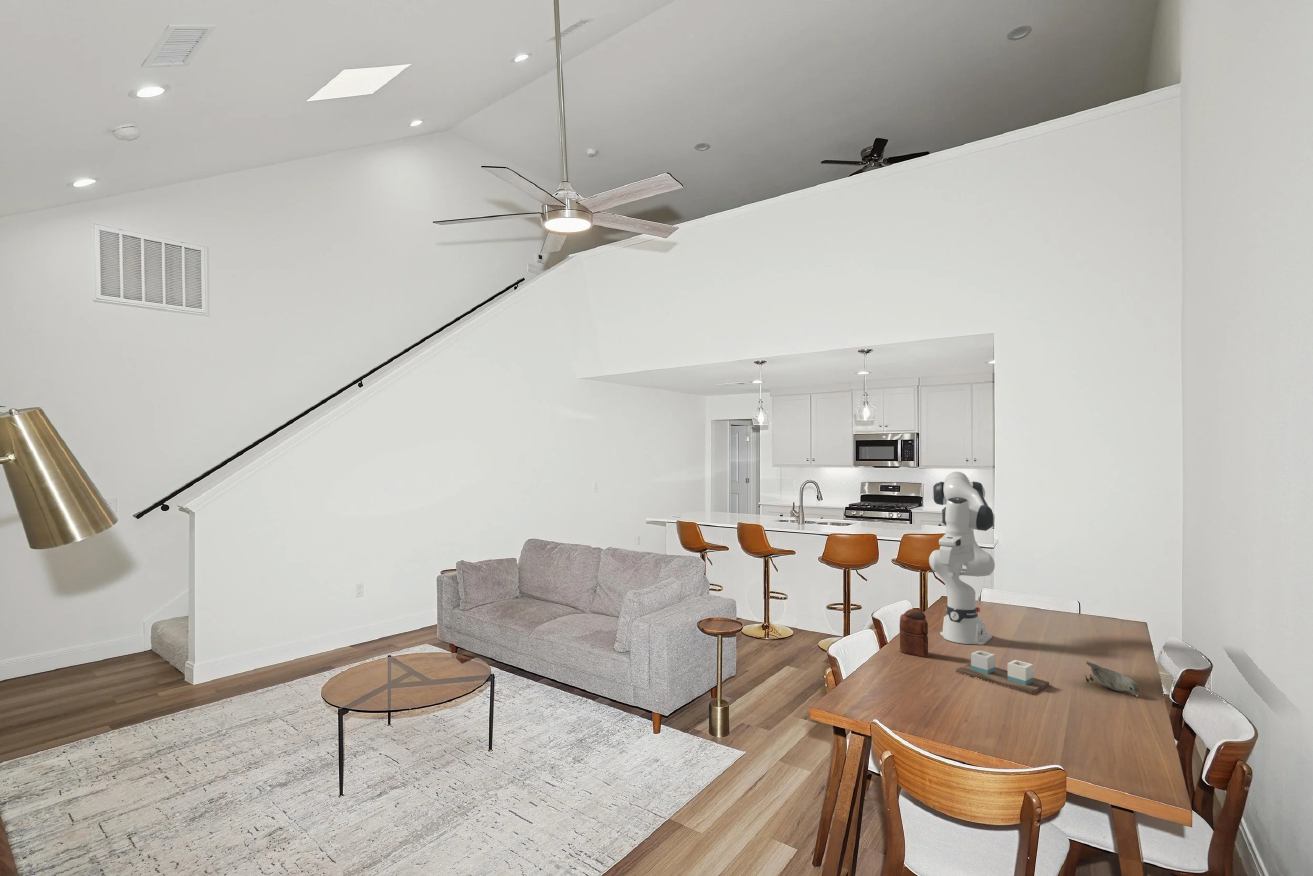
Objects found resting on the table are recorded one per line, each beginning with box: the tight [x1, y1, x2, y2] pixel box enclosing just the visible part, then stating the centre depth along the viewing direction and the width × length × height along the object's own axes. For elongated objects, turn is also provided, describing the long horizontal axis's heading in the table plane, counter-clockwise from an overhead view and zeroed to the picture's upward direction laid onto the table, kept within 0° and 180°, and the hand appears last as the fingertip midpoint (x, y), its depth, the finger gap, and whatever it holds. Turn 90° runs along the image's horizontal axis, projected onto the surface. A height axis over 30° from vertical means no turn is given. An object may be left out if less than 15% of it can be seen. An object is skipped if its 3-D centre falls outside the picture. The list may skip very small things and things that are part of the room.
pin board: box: [955, 655, 1050, 695], centre depth 225 cm, size 14×26×7 cm, turn 37°
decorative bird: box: [1084, 661, 1140, 697], centre depth 216 cm, size 5×16×8 cm, turn 27°
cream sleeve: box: [1007, 659, 1034, 685], centre depth 220 cm, size 6×6×6 cm
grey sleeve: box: [970, 649, 996, 674], centre depth 231 cm, size 6×6×6 cm
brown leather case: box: [899, 608, 929, 658], centre depth 253 cm, size 12×6×18 cm, turn 49°
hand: (957, 574), depth 243 cm, fingers open, 8 cm apart
